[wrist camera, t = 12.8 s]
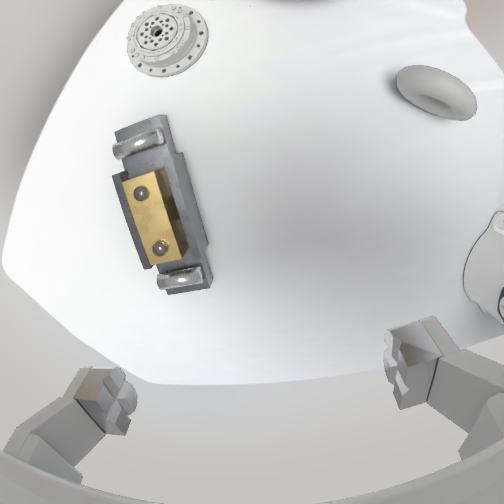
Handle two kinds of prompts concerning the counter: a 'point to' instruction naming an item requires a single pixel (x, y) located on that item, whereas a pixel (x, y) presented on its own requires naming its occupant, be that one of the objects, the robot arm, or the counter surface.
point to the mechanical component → (166, 40)
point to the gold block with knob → (156, 216)
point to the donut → (437, 92)
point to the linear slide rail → (164, 155)
